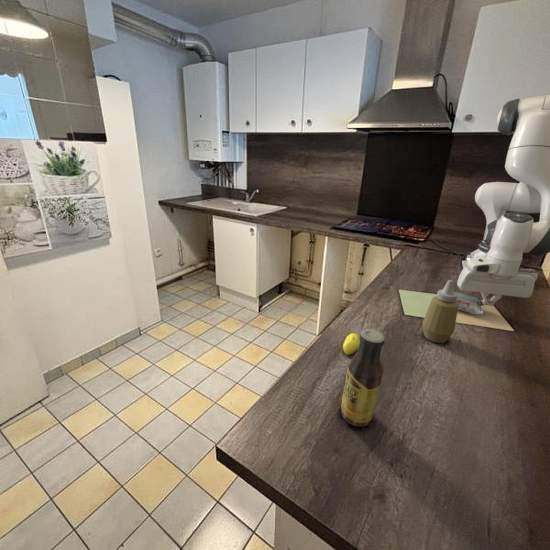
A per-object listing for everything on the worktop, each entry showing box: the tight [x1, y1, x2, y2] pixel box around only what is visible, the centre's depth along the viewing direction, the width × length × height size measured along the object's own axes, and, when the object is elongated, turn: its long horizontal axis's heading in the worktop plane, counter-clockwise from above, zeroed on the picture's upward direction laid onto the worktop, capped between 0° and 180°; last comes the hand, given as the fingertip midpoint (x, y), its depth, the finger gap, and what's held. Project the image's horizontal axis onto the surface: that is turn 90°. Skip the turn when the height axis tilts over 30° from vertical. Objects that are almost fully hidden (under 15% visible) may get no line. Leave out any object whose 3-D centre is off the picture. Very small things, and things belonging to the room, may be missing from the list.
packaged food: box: [454, 291, 483, 314], centre depth 99 cm, size 9×12×5 cm
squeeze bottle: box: [421, 279, 458, 344], centre depth 80 cm, size 8×8×18 cm
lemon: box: [342, 332, 360, 356], centre depth 77 cm, size 4×8×4 cm, turn 146°
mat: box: [398, 289, 515, 332], centre depth 100 cm, size 20×31×1 cm, turn 74°
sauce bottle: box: [340, 328, 386, 428], centre depth 54 cm, size 6×6×20 cm
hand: (487, 304), depth 96 cm, fingers closed
